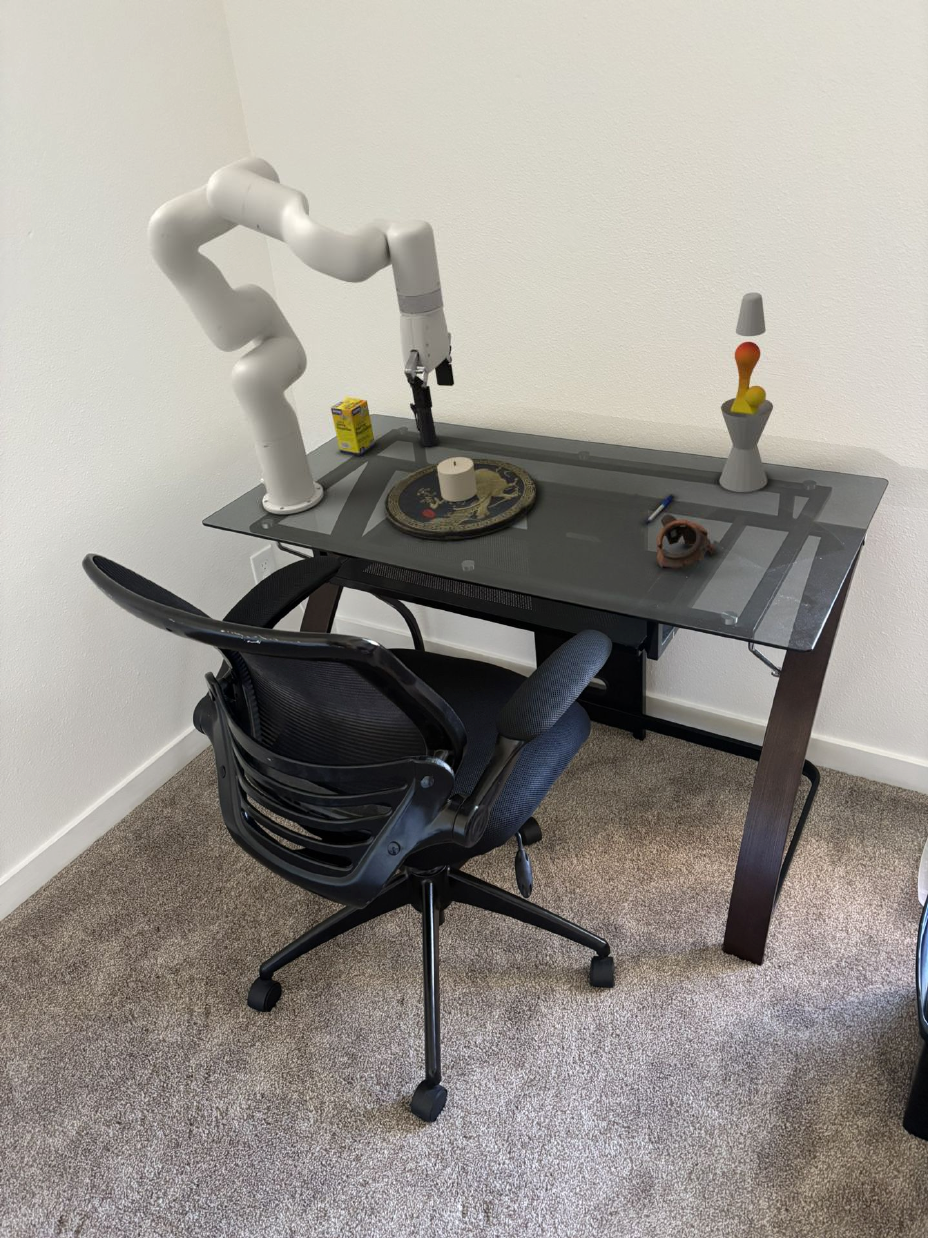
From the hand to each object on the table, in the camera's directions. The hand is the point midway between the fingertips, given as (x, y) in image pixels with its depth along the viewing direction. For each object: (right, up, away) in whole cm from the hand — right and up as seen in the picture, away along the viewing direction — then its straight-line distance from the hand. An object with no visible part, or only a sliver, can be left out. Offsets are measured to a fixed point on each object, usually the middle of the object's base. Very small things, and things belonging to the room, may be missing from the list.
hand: (435, 396), depth 168 cm
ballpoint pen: (+41, -20, +5) cm, 46 cm away
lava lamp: (+58, -14, +10) cm, 60 cm away
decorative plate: (+4, -17, +17) cm, 25 cm away
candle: (+4, -15, +16) cm, 23 cm away
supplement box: (-19, -2, +43) cm, 47 cm away
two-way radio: (-3, -1, +41) cm, 41 cm away
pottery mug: (+42, -29, -8) cm, 52 cm away
